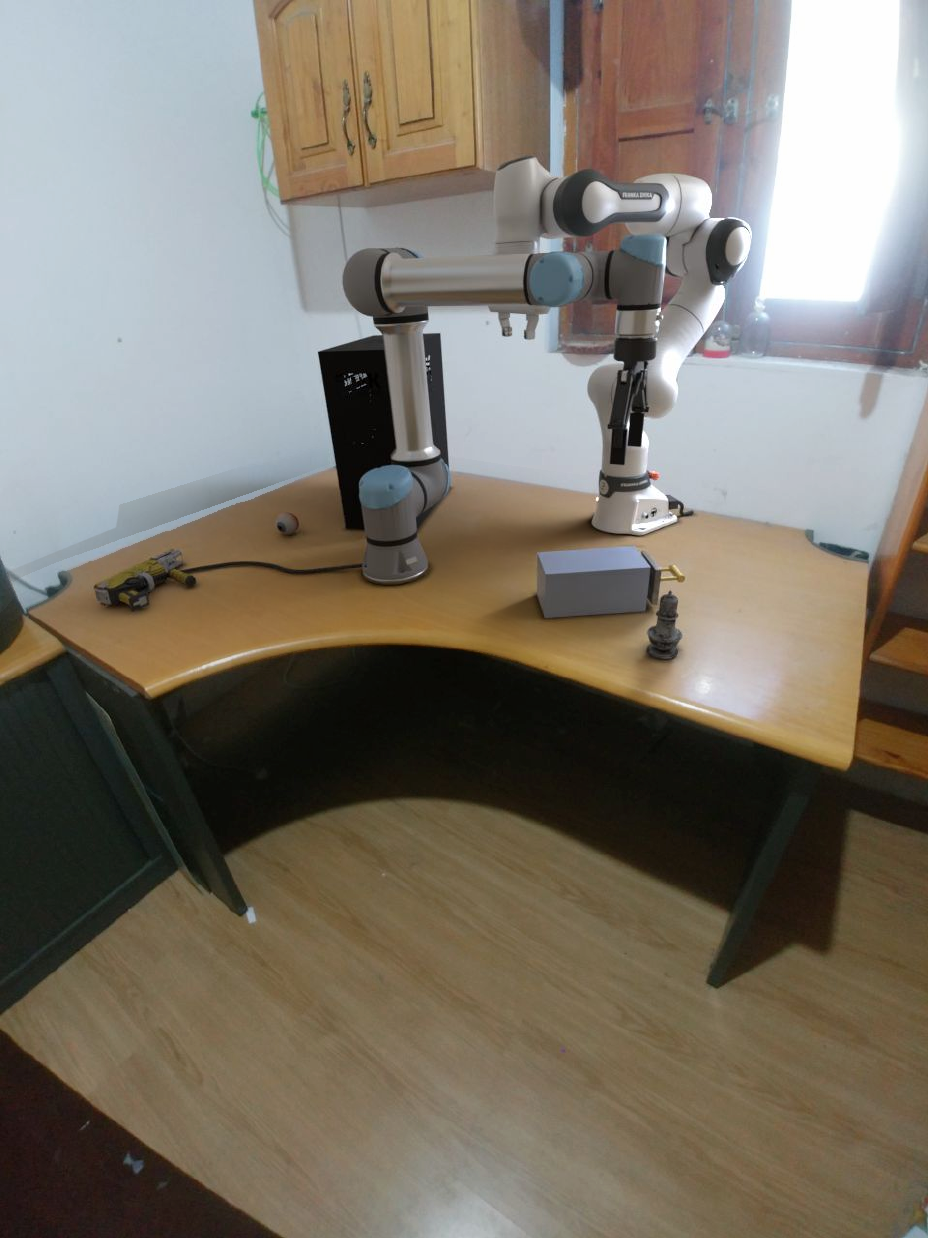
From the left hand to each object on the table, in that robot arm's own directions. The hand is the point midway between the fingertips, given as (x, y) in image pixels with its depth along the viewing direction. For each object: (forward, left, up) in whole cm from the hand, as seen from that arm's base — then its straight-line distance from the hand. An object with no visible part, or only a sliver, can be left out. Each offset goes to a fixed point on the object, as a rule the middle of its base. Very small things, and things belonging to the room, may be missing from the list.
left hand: (626, 454), depth 118 cm
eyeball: (-89, -2, -27) cm, 93 cm away
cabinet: (-3, -12, -27) cm, 30 cm away
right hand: (-26, +9, +20) cm, 34 cm away
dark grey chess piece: (+14, -26, -27) cm, 40 cm away
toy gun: (-96, -38, -27) cm, 107 cm away
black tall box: (-70, +27, -27) cm, 80 cm away
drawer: (+3, -10, -26) cm, 28 cm away
